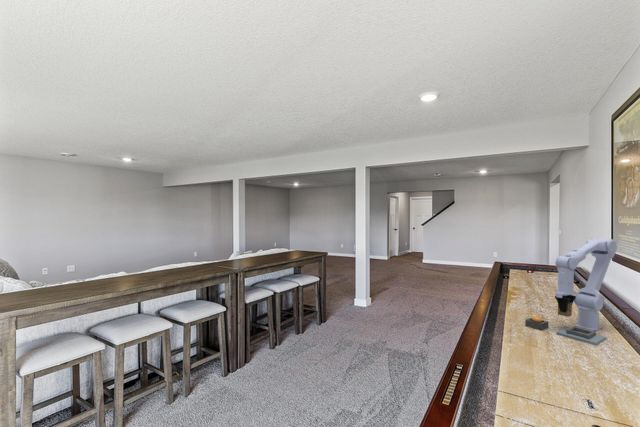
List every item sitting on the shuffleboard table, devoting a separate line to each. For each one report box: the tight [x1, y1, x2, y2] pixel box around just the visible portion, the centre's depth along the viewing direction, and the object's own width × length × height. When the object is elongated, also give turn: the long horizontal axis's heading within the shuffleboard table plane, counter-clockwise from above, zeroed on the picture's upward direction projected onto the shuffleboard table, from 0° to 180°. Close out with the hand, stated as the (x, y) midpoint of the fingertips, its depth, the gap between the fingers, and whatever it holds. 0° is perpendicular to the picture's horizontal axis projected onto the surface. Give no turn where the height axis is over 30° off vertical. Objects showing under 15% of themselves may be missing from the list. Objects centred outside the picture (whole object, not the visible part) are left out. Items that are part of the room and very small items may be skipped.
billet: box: [557, 302, 573, 318], centre depth 149 cm, size 4×4×6 cm
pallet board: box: [555, 326, 607, 346], centre depth 140 cm, size 13×14×2 cm
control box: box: [524, 317, 549, 331], centre depth 152 cm, size 7×7×3 cm
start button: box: [531, 315, 543, 323], centre depth 152 cm, size 4×4×2 cm
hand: (565, 311), depth 149 cm, fingers closed on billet, 4 cm apart
